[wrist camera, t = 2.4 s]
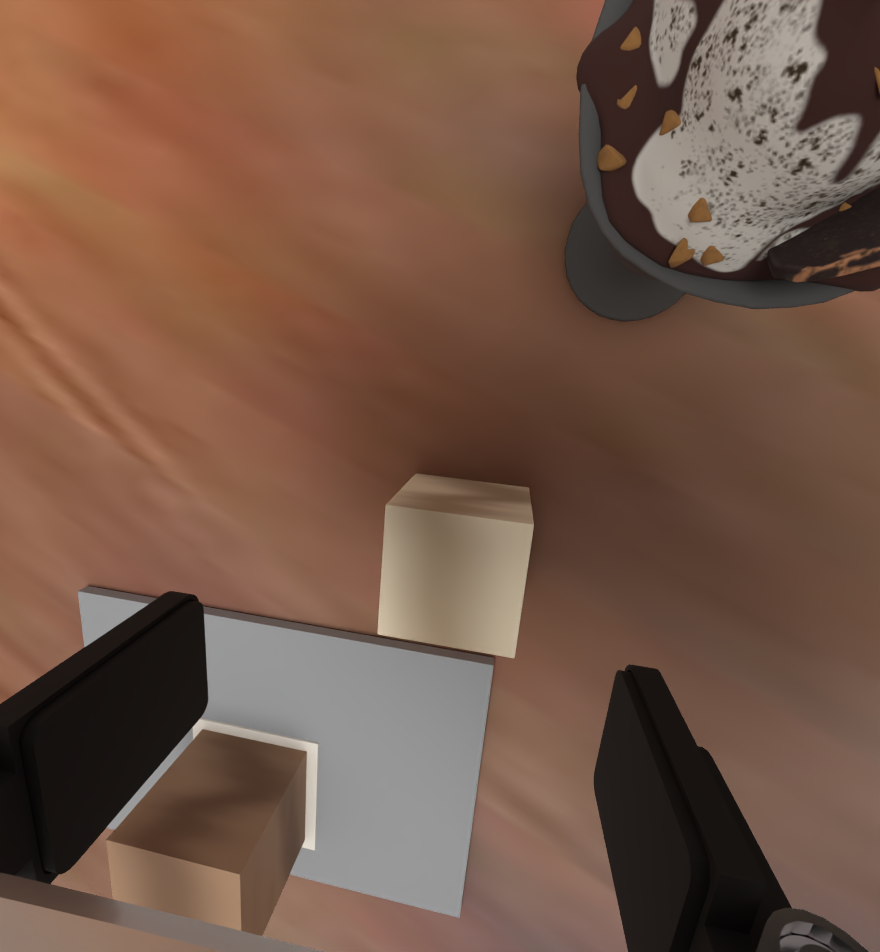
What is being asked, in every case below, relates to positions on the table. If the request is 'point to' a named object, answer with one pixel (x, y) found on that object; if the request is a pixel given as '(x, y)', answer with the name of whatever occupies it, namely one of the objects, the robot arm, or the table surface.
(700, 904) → the robot arm
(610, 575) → the table surface
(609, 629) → the table surface
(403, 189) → the table surface
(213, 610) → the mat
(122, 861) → the walnut block
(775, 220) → the sundae
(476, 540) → the birch block
